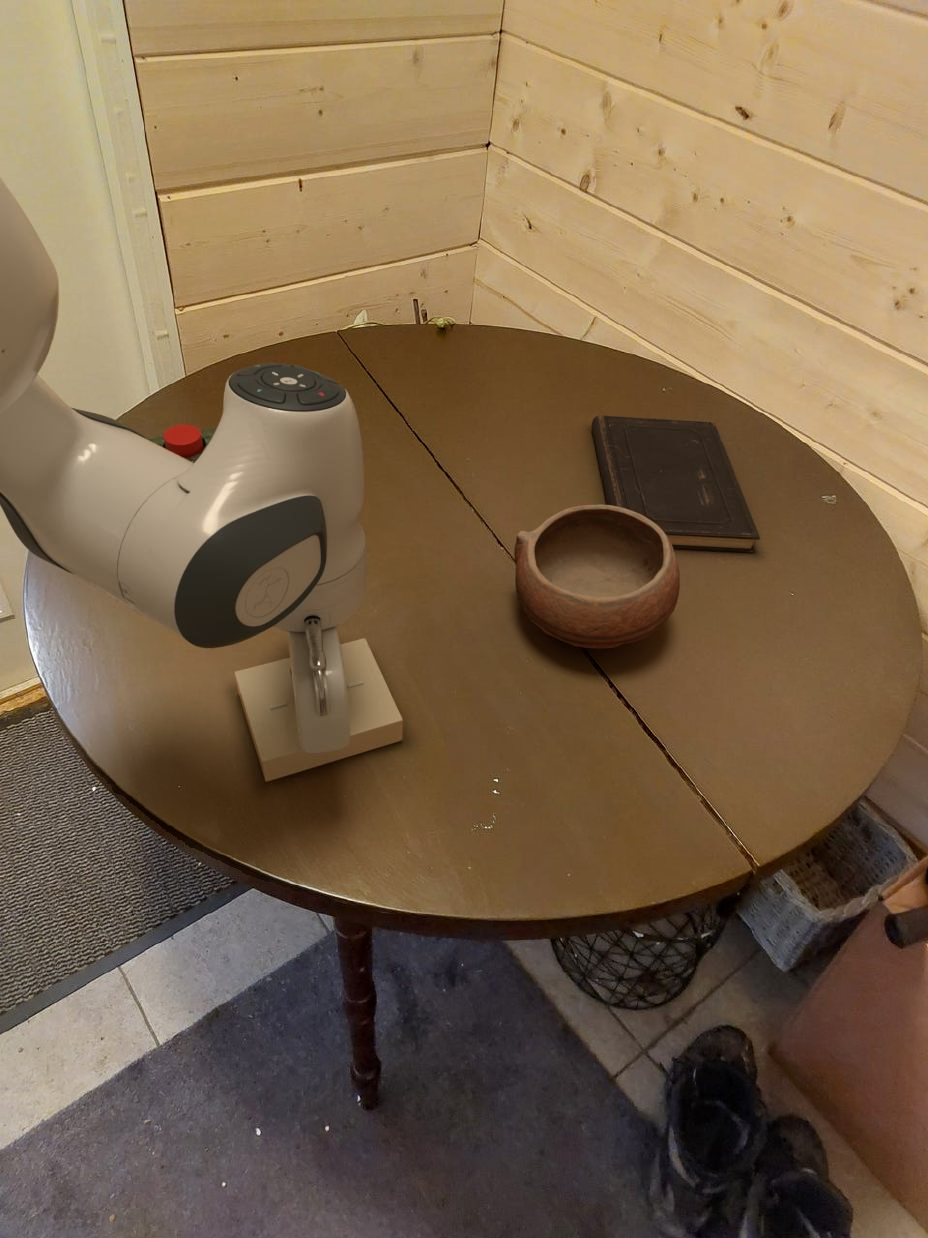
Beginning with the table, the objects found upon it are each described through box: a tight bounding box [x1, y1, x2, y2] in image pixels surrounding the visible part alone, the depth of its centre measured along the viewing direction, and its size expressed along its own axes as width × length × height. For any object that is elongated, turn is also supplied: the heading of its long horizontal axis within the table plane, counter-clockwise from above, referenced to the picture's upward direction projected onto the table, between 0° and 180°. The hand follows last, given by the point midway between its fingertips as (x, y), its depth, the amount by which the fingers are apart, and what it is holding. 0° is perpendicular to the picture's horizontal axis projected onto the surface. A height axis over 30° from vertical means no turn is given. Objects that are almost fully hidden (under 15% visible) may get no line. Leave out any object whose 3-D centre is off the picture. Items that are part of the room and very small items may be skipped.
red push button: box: [163, 424, 203, 457], centre depth 92 cm, size 4×4×2 cm
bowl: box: [513, 504, 681, 649], centre depth 81 cm, size 16×16×10 cm
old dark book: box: [591, 414, 761, 554], centre depth 100 cm, size 16×23×2 cm
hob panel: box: [234, 637, 404, 783], centre depth 72 cm, size 12×10×3 cm
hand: (316, 692), depth 71 cm, fingers open, 8 cm apart
